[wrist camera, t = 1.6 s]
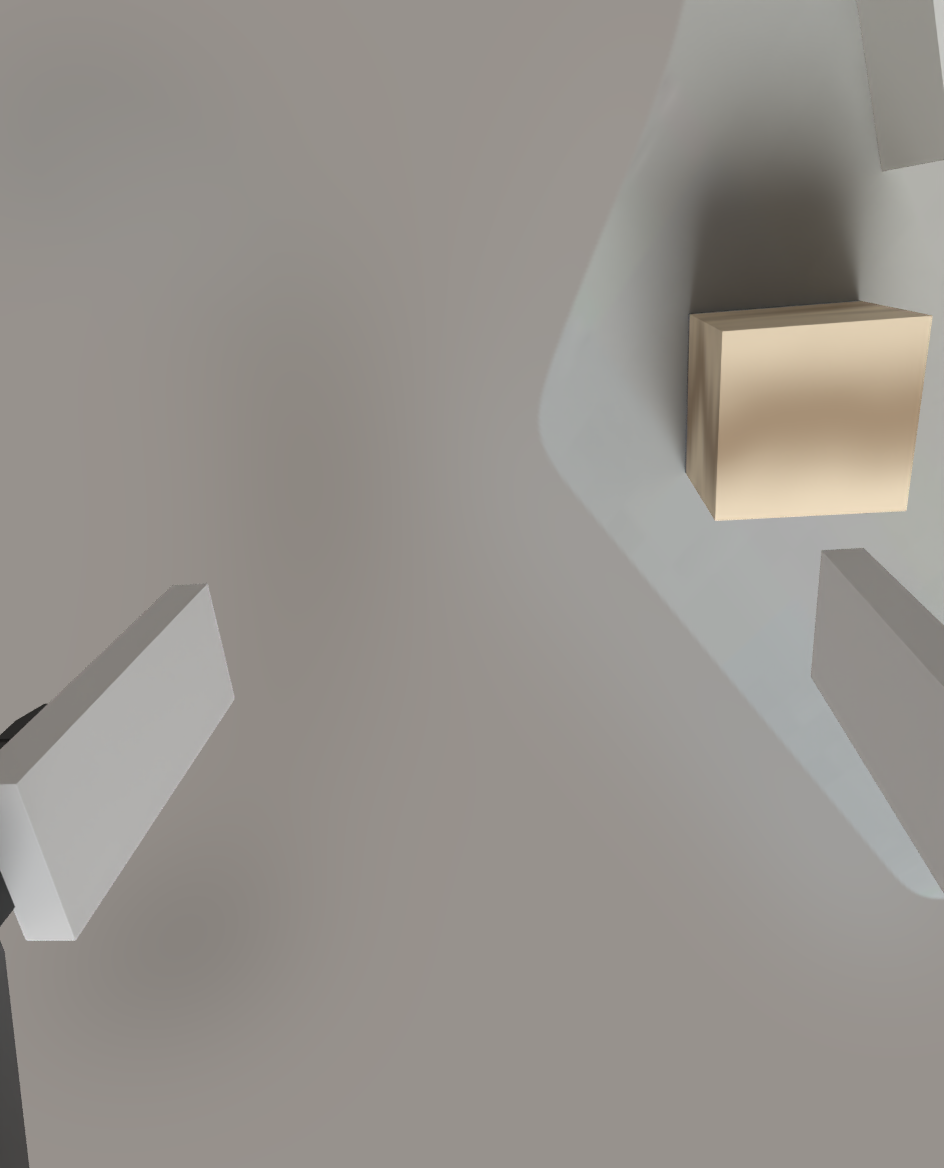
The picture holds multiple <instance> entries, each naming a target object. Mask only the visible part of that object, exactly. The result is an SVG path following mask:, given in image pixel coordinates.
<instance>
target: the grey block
mask: <svg viewBox="0 0 944 1168" xmlns="http://www.w3.org/2000/svg"><path fill="white" fill-rule="evenodd" d="M856 2H857V8H858V15H859V22H860V28H861V35H862V42H863V48H864V55H865V62H866V68H867V75H868V82H869V89H870V95H871V102H872V109H873V115H874V122H875V129H876V135H877V142H878V149H879V155H880V162H881V169H882V171H887V170H893V169H898V168H903V167H909V166H914V165H919V164H925V163H930V162H935V161H941V160H944V0H857V1H856Z"/></svg>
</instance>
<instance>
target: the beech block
mask: <svg viewBox="0 0 944 1168" xmlns="http://www.w3.org/2000/svg"><path fill="white" fill-rule="evenodd" d="M932 317H933V316H932V315H927V314H922V313H917V312H912V311H907V310H902V309H898V308H893V307H888V306H883V305H878V304H873V303H868V302H863V301H848V302H835V303H822V304H809V305H797V306H784V307H771V308H758V309H745V310H732V311H719V312H707V313H694V314H689V331H688V377H687V422H686V467H685V473H686V474H687V476H688V477H689V479H690V481H691V482H692V484H693V486H694V487H695V489H696V490H697V492H698V494H699V495H700V497H701V499H702V500H703V502H704V503H705V505H706V507H707V508H708V510H709V512H710V513H711V515H712V516H713V518H714V520H715V521H721V520H740V519H759V518H779V517H798V516H817V515H837V514H856V513H875V512H895V511H906V509H907V502H908V494H909V487H910V479H911V472H912V465H913V457H914V450H915V442H916V435H917V428H918V420H919V413H920V405H921V398H922V391H923V383H924V376H925V368H926V361H927V354H928V346H929V339H930V331H931V324H932Z"/></svg>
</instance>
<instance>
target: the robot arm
mask: <svg viewBox="0 0 944 1168" xmlns="http://www.w3.org/2000/svg"><path fill="white" fill-rule="evenodd" d="M811 678H812V679H813V681H814V683H815V684H816V686H817V688H818V689H819V691H820V692H821V694H822V696H823V697H824V699H825V701H826V702H827V704H828V705H829V707H830V709H831V710H832V712H833V714H834V715H835V717H836V718H837V720H838V722H839V723H840V725H841V727H842V728H843V730H844V731H845V733H846V735H847V736H848V738H849V740H850V741H851V743H852V745H853V746H854V748H855V749H856V751H857V753H858V754H859V756H860V758H861V759H862V761H863V762H864V764H865V766H866V767H867V769H868V771H869V772H870V774H871V775H872V777H873V779H874V780H875V782H876V784H877V785H878V787H879V788H880V790H881V792H882V793H883V795H884V797H885V798H886V800H887V802H888V803H889V805H890V806H891V808H892V810H893V811H894V813H895V815H896V816H897V818H898V819H899V821H900V823H901V824H902V826H903V828H904V829H905V831H906V832H907V834H908V836H909V837H910V839H911V841H912V842H913V844H914V845H915V847H916V849H917V850H918V852H919V854H920V855H921V857H922V859H923V860H924V862H925V863H926V865H927V867H928V868H929V870H930V872H931V873H932V875H933V876H934V878H935V880H936V881H937V883H938V885H939V886H940V888H941V889H942V891H943V893H944V625H943V624H942V623H941V622H940V621H939V620H937V619H936V618H935V617H934V616H933V615H932V614H931V613H930V612H929V611H928V610H927V609H926V608H925V607H924V606H923V605H922V604H921V603H920V602H919V601H918V600H917V599H916V598H915V597H914V596H913V595H912V594H911V593H910V592H908V591H907V590H906V589H905V588H904V587H903V586H902V585H901V584H900V583H899V582H898V581H897V580H896V579H895V578H894V577H893V576H892V575H891V574H890V573H889V572H888V571H887V570H886V569H885V568H884V567H883V566H882V565H881V564H880V563H878V562H877V561H876V560H875V559H874V558H873V557H872V556H871V555H870V554H869V553H868V552H867V551H866V550H865V549H864V548H856V549H837V550H822V551H821V563H820V574H819V586H818V598H817V609H816V621H815V633H814V644H813V656H812V668H811ZM234 699H235V697H234V693H233V689H232V684H231V680H230V676H229V672H228V668H227V664H226V659H225V655H224V651H223V646H222V642H221V638H220V634H219V630H218V626H217V621H216V617H215V613H214V609H213V605H212V600H211V596H210V592H209V587H208V584H190V585H172V586H171V587H170V588H169V589H168V590H167V591H166V592H165V593H164V594H163V595H162V596H161V597H160V598H159V599H157V600H156V601H155V602H154V603H153V604H152V605H151V606H150V607H149V608H148V609H147V610H146V611H145V612H144V613H143V614H142V615H141V616H140V617H139V618H138V619H137V620H135V621H134V622H133V623H132V624H131V625H130V626H129V627H128V628H127V629H126V630H125V631H124V632H123V633H122V634H121V635H120V636H119V637H118V638H117V639H116V640H114V641H113V642H112V643H111V644H110V645H109V646H108V647H107V648H106V649H105V650H104V651H103V652H102V653H101V654H100V655H99V656H98V657H97V658H96V659H95V660H94V661H92V663H90V664H89V665H88V666H87V667H86V668H85V669H84V670H83V671H82V672H81V673H80V674H79V675H78V676H77V677H76V678H75V679H74V680H73V681H72V682H70V683H69V684H68V685H67V686H66V687H65V688H64V689H63V690H62V691H61V692H60V693H59V694H58V695H57V696H56V697H55V698H54V699H53V700H52V701H51V702H49V704H43V705H42V706H40V707H38V708H37V709H35V710H33V711H32V712H30V713H28V714H26V715H25V716H23V717H21V718H20V719H18V720H16V721H15V722H14V723H13V724H12V725H11V726H9V727H8V728H7V729H6V730H5V731H4V732H3V733H2V734H1V735H0V926H1V925H2V923H3V922H4V921H5V919H6V918H7V917H8V916H9V914H10V913H11V912H12V911H13V910H14V912H15V915H16V917H17V920H18V922H19V924H20V927H21V929H22V932H23V934H24V937H25V939H26V941H45V940H46V941H50V940H51V941H54V940H56V941H57V940H58V941H59V940H76V939H77V938H78V936H79V935H80V933H81V932H82V930H83V928H84V927H85V925H86V924H87V922H88V921H89V919H90V918H91V916H92V915H93V913H94V912H95V910H96V909H97V907H98V906H99V904H100V903H101V901H102V900H103V898H104V897H105V895H106V894H107V892H108V890H109V889H110V887H111V886H112V884H113V883H114V881H115V880H116V878H117V877H118V875H119V873H120V872H121V871H122V869H123V867H124V866H125V865H126V863H127V862H128V860H129V859H130V857H131V855H132V854H133V852H134V851H135V849H136V848H137V846H138V845H139V843H140V842H141V840H142V839H143V837H144V836H145V834H146V833H147V831H148V830H149V828H150V827H151V825H152V824H153V822H154V821H155V819H156V817H157V816H158V814H159V813H160V811H161V810H162V808H163V807H164V805H165V804H166V802H167V801H168V799H169V797H170V796H171V794H172V793H173V792H174V790H175V788H176V787H177V786H178V784H179V783H180V781H181V780H182V778H183V777H184V775H185V773H186V772H187V770H188V769H189V767H190V766H191V764H192V763H193V761H194V760H195V758H196V757H197V755H198V754H199V752H200V751H201V749H202V748H203V746H204V745H205V743H206V741H207V740H208V738H209V737H210V735H211V734H212V732H213V731H214V729H215V728H216V726H217V725H218V723H219V722H220V720H221V719H222V717H223V716H224V714H225V712H226V711H227V710H228V708H229V707H230V705H231V703H232V702H233V701H234ZM0 1168H29V1162H28V1153H27V1144H26V1136H25V1127H24V1118H23V1109H22V1100H21V1092H20V1083H19V1074H18V1065H17V1057H16V1048H15V1039H14V1030H13V1022H12V1013H11V1004H10V995H9V987H8V979H7V970H6V960H5V952H4V949H3V947H2V944H1V942H0Z"/></svg>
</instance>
